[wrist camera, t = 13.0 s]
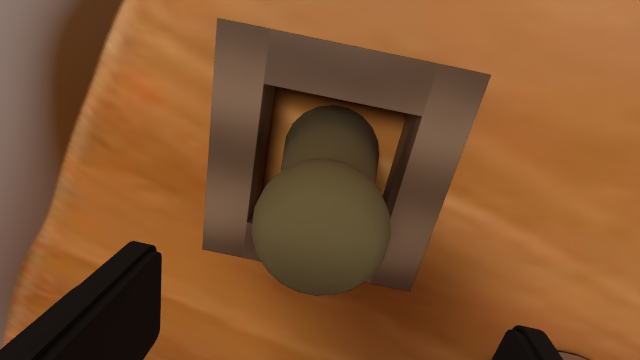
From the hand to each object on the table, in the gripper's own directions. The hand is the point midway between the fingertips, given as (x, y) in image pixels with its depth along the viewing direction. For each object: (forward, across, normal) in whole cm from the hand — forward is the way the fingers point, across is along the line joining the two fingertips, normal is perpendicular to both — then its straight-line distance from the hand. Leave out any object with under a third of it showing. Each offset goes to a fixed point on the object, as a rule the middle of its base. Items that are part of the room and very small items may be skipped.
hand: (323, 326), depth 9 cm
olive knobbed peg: (+14, +1, -1) cm, 14 cm away
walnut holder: (+14, +1, -1) cm, 14 cm away
